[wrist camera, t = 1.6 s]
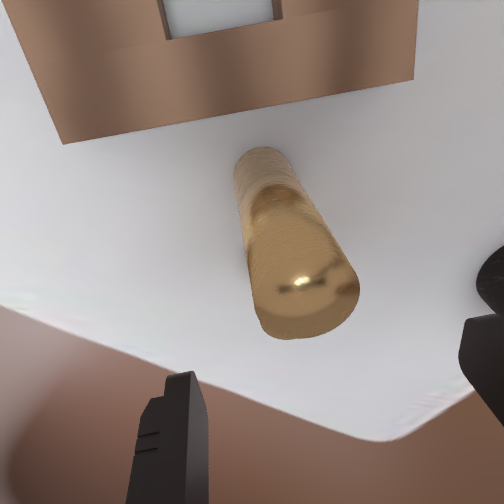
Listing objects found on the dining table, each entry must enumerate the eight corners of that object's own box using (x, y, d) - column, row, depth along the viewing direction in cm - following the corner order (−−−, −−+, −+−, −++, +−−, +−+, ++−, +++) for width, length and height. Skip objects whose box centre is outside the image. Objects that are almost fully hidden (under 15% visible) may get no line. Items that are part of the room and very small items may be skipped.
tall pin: (287, 142, 25) (359, 243, 13) (292, 197, 27) (359, 328, 15) (228, 153, 25) (245, 264, 13) (238, 207, 27) (262, 346, 15)
